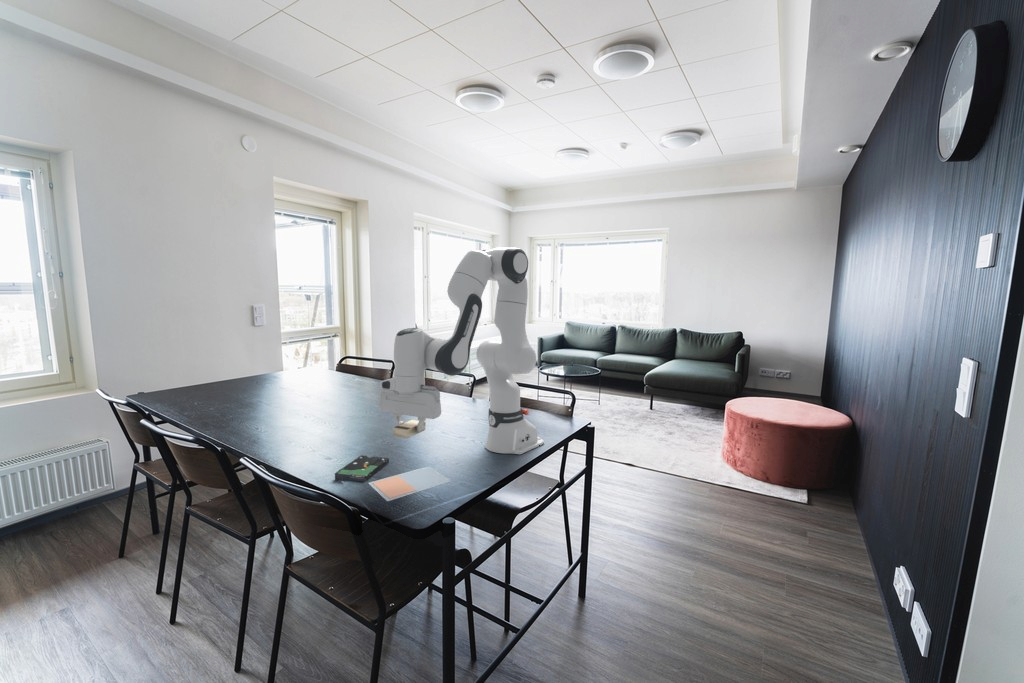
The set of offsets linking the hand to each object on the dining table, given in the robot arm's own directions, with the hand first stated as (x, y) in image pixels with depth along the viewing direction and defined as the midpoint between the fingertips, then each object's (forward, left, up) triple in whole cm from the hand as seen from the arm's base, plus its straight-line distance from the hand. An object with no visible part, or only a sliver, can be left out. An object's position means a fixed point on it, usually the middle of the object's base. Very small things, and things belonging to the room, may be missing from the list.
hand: (409, 429), depth 127 cm
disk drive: (+9, -14, -16) cm, 24 cm away
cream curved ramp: (0, 0, -1) cm, 1 cm away
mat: (+1, +3, -16) cm, 16 cm away
